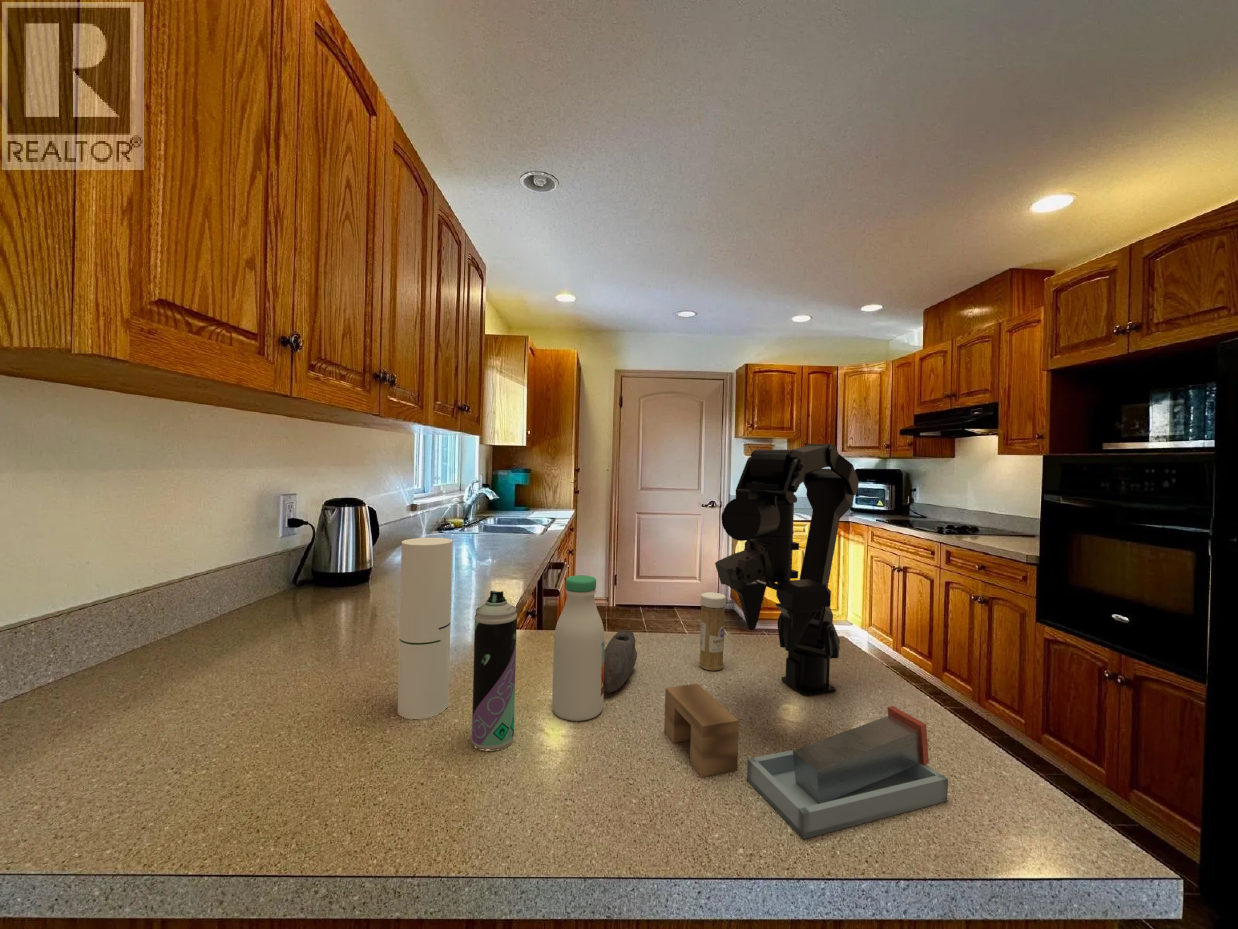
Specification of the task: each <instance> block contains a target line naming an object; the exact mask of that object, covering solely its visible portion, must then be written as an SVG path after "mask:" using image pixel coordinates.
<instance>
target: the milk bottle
mask: <svg viewBox="0 0 1238 929" xmlns="http://www.w3.org/2000/svg"><path fill="white" fill-rule="evenodd" d="M596 588H597V579H596V577H594V576H591V575H580V574H578V575H577V574H576V575H571V576H568V577H567V578H566V579H565V593H566V600H565V603H564V607H563V609H562V611H561V614H560V616H559V617H558V620H557V623H556V625H555V630H554V635H553V636H554V638H553V639H554V640H553V658H552V659H553V660H552V661H553V662H552V692H551V693H552V695H551V708H552V711H553V713H554V714H555V715H556V716H557V717H559V718H560V719H564V720H568V721H573V722H574V721H575V722H577V721H578V722H581V721H586V720H587V721H588V720H592V719H594V718H595V717H597V716H599V715H600V714H601V712H602V711H603V708H604V691H605V690H604V652H605V648H606V647H605V641H606V640H605V628H604V624H603V620H602V617H601V615H600V613H599V610H598V607H597V604H596V600H595V594H597V591H596V590H597V589H596Z"/></svg>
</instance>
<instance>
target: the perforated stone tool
mask: <svg viewBox="0 0 1238 929" xmlns="http://www.w3.org/2000/svg"><path fill="white" fill-rule="evenodd" d="M637 658H638V652H637V649H636V638H635V635H634V632H633V631H631V630H628V629H620V630H619V631H618V632H617V633H615V634H614V635H613V636H612V637H611V639H609V642H608V643H607V645H606V647H605V652H604V691H605V693H613V692H616V691H617V690H619V689H620V688H621V687H622V686H623V685H624V683H625V682H626V681H627V680H628V678H629V677H630V675H631V673H632V671H633V670H634V668H635V665H636V662H637Z"/></svg>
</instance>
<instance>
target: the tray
mask: <svg viewBox="0 0 1238 929" xmlns="http://www.w3.org/2000/svg"><path fill="white" fill-rule="evenodd" d="M793 750H794V749H792V750H786V751H781V752H777V753H776V752H775V753H771V754H765V755H760V756H756V757H755V756H754V757H750V758H747V771H746V774H747V776H746V781H747V782H748V784H750V785H751V786H752V787H753V788H754V789H755V790H756V792H757V793H759V795H760V796H761V797H762V798H763V799H764V800H765V801H766V802H767V803H768V804H769V806H771V808H773V809H774V811H775V812H776V813H777V814H778V815H779V816H780V817H781V818H782V819H783V821H785V822H786V823H787V824H788V825H789V826H790V827H791V829H793V831H794V832H795V833H796V834H797V835H798V836H799V837H800V838H801V839H802V840H807V839H810V838H814V837H817V836H822V835H825V834H829V833H832V832H836V831H840V830H843V829H847V828H850V827H855V826H858V825H859V826H860V825H862V824H866V823H869V822H874V821H878V820H881V819H885V818H888V817H893V816H896V815H901V814H904V813H907V812H911V811H916V810H918V809H922V808H926V807H930V806H934V805H938V804H941V803H945V802H946V803H947V802H948V792H949V791H948V789H949V788H948V787H949V778H948V777H947V776H945V775H943V774H942V773H940V772H939V771H937V770H935V769H934V768H933V767H930V766H929V765H928V764H926V765H923V764H918V765H916V766H913V767H911V768H908V769H906V770H904V771H901V772H899V773H896V774H894V775H891V776H889V777H886V778H884V779H882V780H879V781H877V782H874V783H872V784H869V785H867V786H865V787H862V788H860V789H857V790H855V791H852V792H850V793H848V794H845V795H843V796H840V797H838V798H835V799H833V800H830V801H828V802H825V803H821V804H818V803H817V802H816V801H815V800H814V799H813V798H811V797H810V796H809V795H808V794H807V793H806V792H805V791H804V790H803V789H802V788H801V787H799V786H798V785H797V784H796V781H795V770H794V758H793Z"/></svg>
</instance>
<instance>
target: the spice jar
mask: <svg viewBox="0 0 1238 929" xmlns="http://www.w3.org/2000/svg"><path fill="white" fill-rule="evenodd" d="M726 601H727V596H725V595H724V594H723V593H718V592H712V591H711V592H710V591H708V592H703V593H701V594H700V605H701V606H700V607H701V610H700V611H701V612H700V616H701V617H700V627H699V628H700V629H699V630H700V632H699V633H700V634H699V635H700V636H699V649H700V650H699V651H700V652H699V656H700V657H699V662H698V663H699V667H700V668H702V669H704V670H707V671H711V672H713V671H721V670H722V669H724V667H725V665H724V648H725V647H724V646H725V607H726V604H727V603H726Z"/></svg>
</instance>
